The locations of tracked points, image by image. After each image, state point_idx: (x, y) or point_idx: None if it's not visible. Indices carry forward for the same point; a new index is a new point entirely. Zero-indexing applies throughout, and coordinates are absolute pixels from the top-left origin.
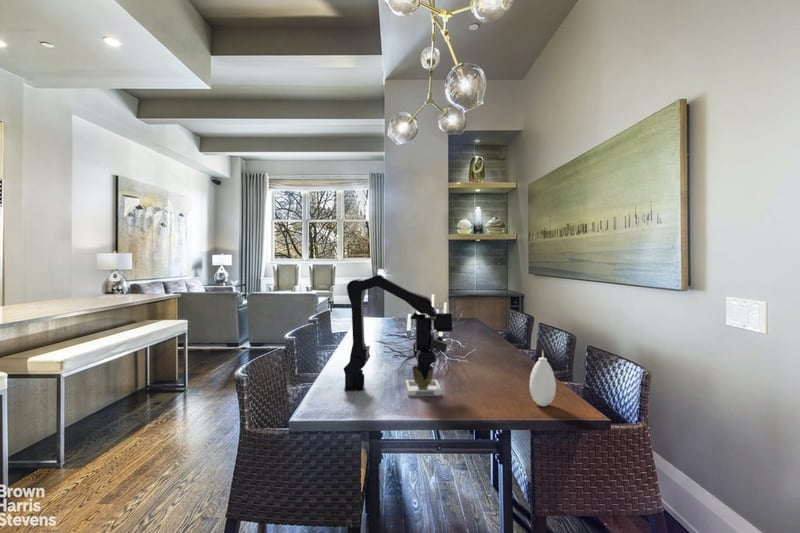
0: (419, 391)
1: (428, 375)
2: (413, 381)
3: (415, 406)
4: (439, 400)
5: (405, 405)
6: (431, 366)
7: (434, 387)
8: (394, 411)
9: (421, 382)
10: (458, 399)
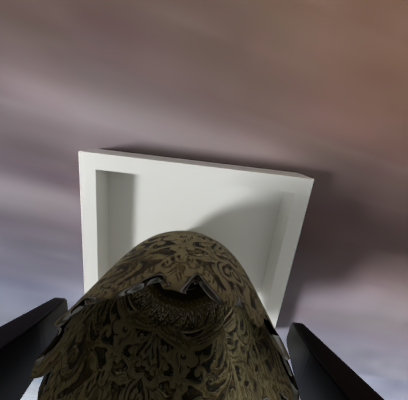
0: (280, 303)
1: (265, 310)
2: None
3: (387, 324)
4: (359, 204)
5: (359, 355)
6: (120, 295)
7: (170, 183)
8: (401, 396)
9: (240, 311)
10: (388, 84)
